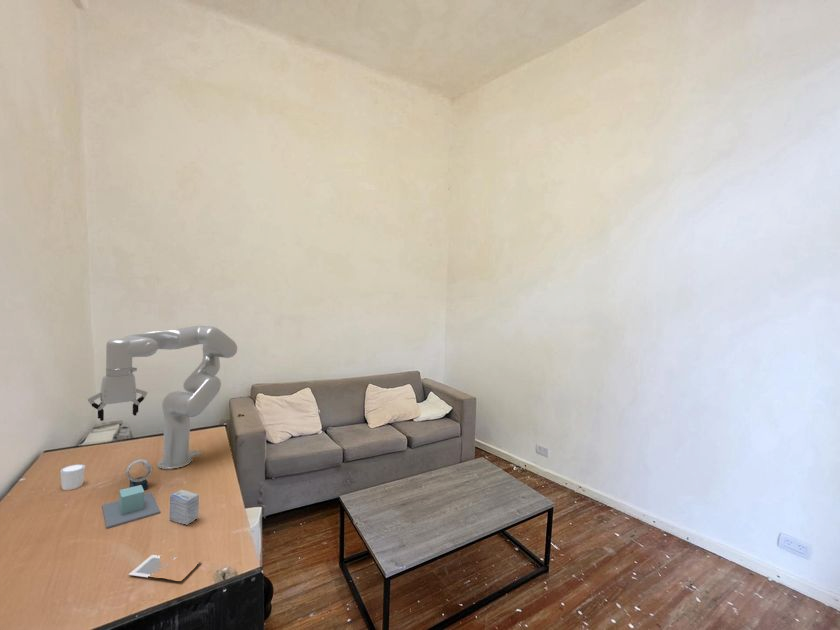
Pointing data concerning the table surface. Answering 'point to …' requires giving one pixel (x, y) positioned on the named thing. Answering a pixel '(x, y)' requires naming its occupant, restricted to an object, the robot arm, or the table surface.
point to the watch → (139, 480)
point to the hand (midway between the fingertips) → (118, 417)
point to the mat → (115, 517)
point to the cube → (131, 499)
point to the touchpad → (149, 566)
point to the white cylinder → (72, 476)
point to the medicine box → (184, 506)
